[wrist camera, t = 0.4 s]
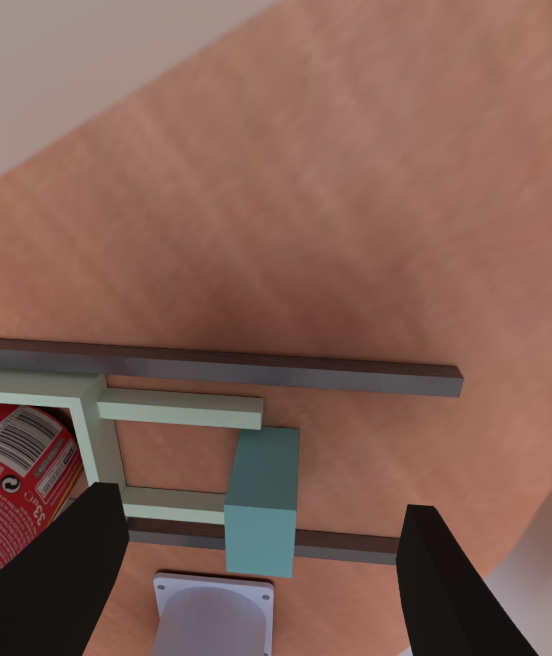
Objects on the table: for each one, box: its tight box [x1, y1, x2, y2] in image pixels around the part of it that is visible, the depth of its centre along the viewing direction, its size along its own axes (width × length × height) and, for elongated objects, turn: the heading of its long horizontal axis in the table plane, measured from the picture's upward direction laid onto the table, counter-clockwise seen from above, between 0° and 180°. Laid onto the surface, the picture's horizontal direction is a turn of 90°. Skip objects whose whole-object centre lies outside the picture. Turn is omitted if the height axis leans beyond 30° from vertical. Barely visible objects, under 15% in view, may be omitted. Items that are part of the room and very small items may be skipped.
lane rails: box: [0, 339, 464, 565], centre depth 22 cm, size 13×25×1 cm, turn 89°
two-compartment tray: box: [0, 367, 300, 578], centre depth 20 cm, size 10×20×5 cm, turn 89°
